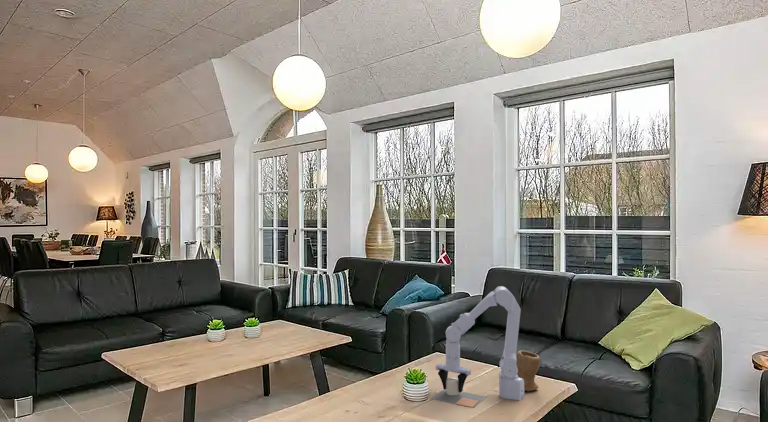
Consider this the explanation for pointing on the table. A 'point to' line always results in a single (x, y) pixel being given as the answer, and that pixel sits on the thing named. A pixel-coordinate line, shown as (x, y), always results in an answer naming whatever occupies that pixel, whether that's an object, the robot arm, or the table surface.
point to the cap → (452, 386)
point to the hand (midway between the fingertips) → (452, 390)
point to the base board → (457, 397)
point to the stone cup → (527, 368)
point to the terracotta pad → (467, 402)
